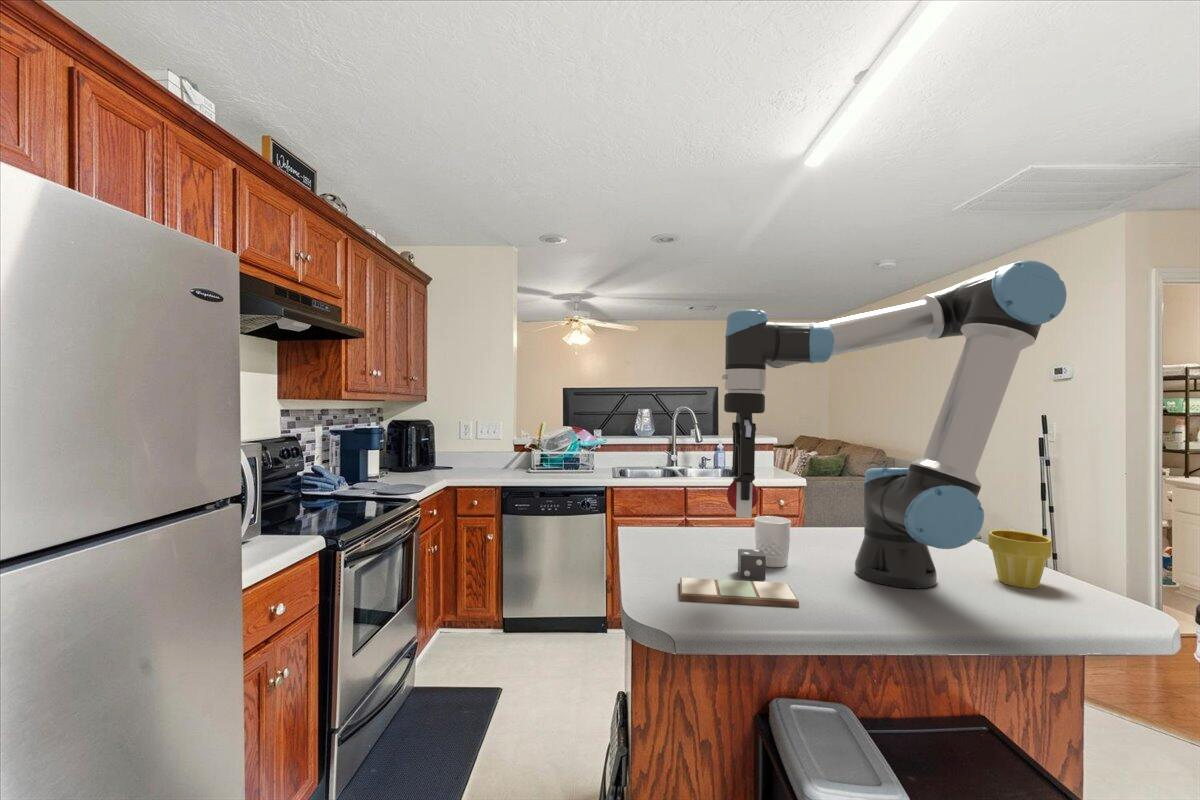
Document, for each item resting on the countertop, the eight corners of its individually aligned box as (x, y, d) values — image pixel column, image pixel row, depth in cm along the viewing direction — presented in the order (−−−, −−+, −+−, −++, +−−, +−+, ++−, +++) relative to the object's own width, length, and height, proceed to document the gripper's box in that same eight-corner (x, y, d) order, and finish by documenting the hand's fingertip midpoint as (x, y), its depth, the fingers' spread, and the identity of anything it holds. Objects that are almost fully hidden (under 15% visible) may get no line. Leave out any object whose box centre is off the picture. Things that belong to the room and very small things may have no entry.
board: (787, 588, 107) (787, 582, 107) (799, 607, 97) (799, 600, 97) (680, 582, 110) (680, 576, 110) (680, 600, 100) (680, 593, 100)
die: (761, 573, 117) (761, 549, 117) (765, 580, 112) (765, 555, 112) (737, 571, 118) (738, 548, 118) (740, 579, 112) (740, 554, 112)
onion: (759, 519, 100) (760, 475, 100) (726, 517, 101) (728, 474, 101) (756, 513, 106) (757, 471, 106) (726, 511, 107) (727, 470, 107)
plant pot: (1064, 593, 105) (1064, 543, 105) (1005, 590, 107) (1006, 540, 107) (1031, 576, 116) (1031, 530, 116) (977, 573, 117) (978, 528, 117)
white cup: (795, 568, 120) (795, 523, 120) (759, 568, 120) (760, 523, 120) (783, 558, 128) (784, 516, 128) (750, 558, 128) (750, 515, 128)
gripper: (720, 392, 113) (717, 503, 113) (729, 390, 95) (726, 523, 94) (757, 393, 112) (754, 505, 112) (774, 391, 94) (770, 525, 93)
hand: (741, 513), depth 103 cm, fingers closed on onion, 6 cm apart
